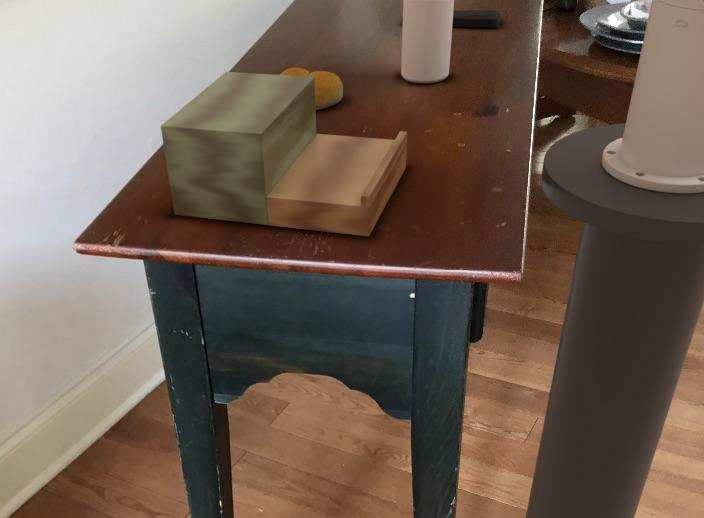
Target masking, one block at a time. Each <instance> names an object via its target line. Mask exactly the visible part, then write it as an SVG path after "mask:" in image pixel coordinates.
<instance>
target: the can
mask: <svg viewBox="0 0 704 518" xmlns="http://www.w3.org/2000/svg"><path fill="white" fill-rule="evenodd" d="M402 5H403V6H402V32H401V63H400V64H401V65H400V74H401V77H402V78H403V79H404V80H405V81H406V82H409V83H413V84H420V85H428V84H429V85H430V84H437V83H440V82H443V81H445V80H446V79H447V77H448V76H449V74H450V65H451V64H450V63H451V51H452V37H453V27H452V24H453V10H455V9H454V8H455V0H403V3H402Z"/></svg>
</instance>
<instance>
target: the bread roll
mask: <svg viewBox="0 0 704 518" xmlns="http://www.w3.org/2000/svg"><path fill="white" fill-rule="evenodd" d="M280 75H289V76H306V77H314V79H315V108H316V111H320V110H324V109H327V108H330V107H332V106H335V105H336V104H338V103H339V102H340V101H342V99H343V96H344V85H343V82H342V79H341V78H340V77H339V76H338V75H337V74H335V73H334V72H332V71H326V70H315V71H312V72H310V71H309V70H306V69H305V68H303V67H296V66H295V67H291V68H287V69H285V70H284V71H282V72H281V73H280Z"/></svg>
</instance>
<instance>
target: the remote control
mask: <svg viewBox="0 0 704 518" xmlns="http://www.w3.org/2000/svg"><path fill="white" fill-rule="evenodd" d="M500 24H501V13H500V11H497V10H495V9H494V10H493V9H467V10H455V9H453V24H452V28H487V29H493V28H499V26H500Z"/></svg>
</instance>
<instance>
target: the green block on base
mask: <svg viewBox="0 0 704 518" xmlns="http://www.w3.org/2000/svg"><path fill="white" fill-rule="evenodd" d="M316 111H317V110H316V108H315V79H314V77H306V76H289V75H281V74H270V73H269V74H268V73H255V72H254V73H252V72H235V71H225V72H224V73H222V75H221V76H218V78H217V79H215V80H214V81H213V82H212V83H210V85H208V86H207V87H206V88H205V89H203V90H202V91H201V92H200V93H198V95H196V96H195V97H193V98H192V99H191V100H190V101H188V102H187V103H186V104H185V105H184V106H183V107H181V108H180V109H179V110H178V111H176V113H174V114H173V115H172V116H170V118H168V119H167V120H166V121H165V122H163V123H162V124H161V125H160V131H161V138H162V144H163V150H164V156H165V163H166V168H167V174H168V181H169V182H168V183H169V187H170V194H171V200H172V206H173V212H174V215H175V216H184V217H190V218H199V219H210V220H219V221H226V222H227V221H228V222H237V223H245V224H254V225H262V226H272V227H278V228H279V227H280V228H290V229H298V230H307V231H316V232H325V233H333V234H342V235H351V236H352V235H353V236H360V237H370V235H371V234H372V232H373V229H374V228H375V226H376V224H377V222H378V220H379V219H380V216H381V215H382V213H383V211H384V209H385V207H386V205H387V204H388V202H389V200H390V198H391V196H392V195H393V192H394V191H395V189H396V187H397V185H398V184H399V181H400V180H401V178H402V176H403V174H404V172H405V170H406V168H407V152H408V151H407V149H408V131H406V130H405V131H404V130H399V132H398V133H397V135H396V137H395V138H394V139H388V138H378V137H377V138H376V137H364V136H362V137H361V136H352V135H351V136H350V135H336V134H326V133H325V134H323V133H317V112H316Z"/></svg>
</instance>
